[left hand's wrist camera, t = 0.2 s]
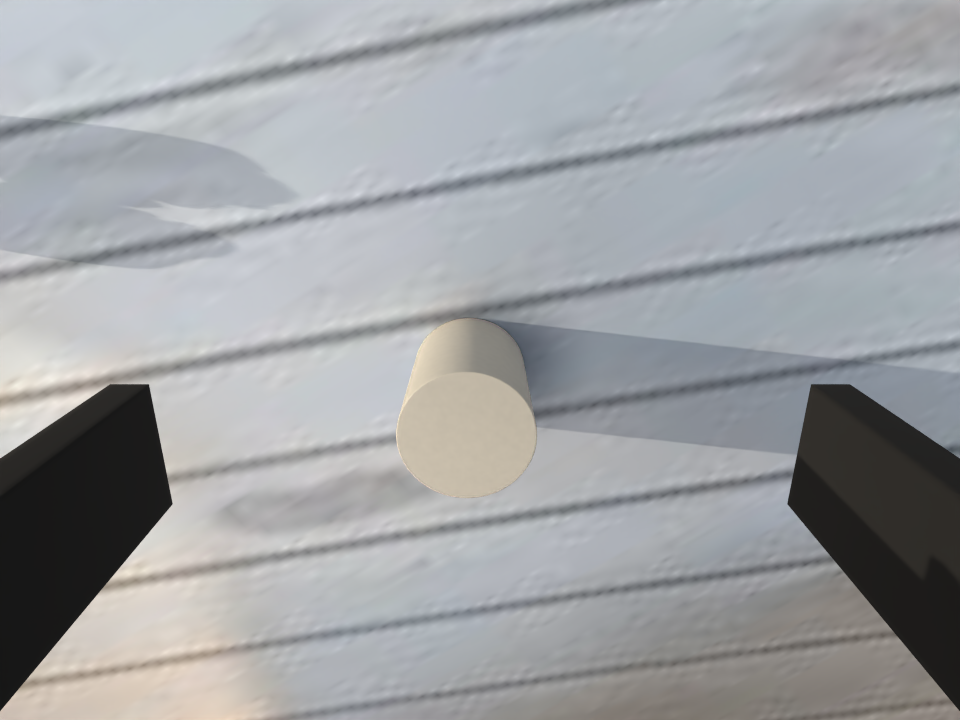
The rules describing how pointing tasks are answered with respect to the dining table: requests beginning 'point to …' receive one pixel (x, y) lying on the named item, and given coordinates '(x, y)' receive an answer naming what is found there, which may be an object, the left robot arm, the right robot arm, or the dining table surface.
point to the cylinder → (467, 411)
